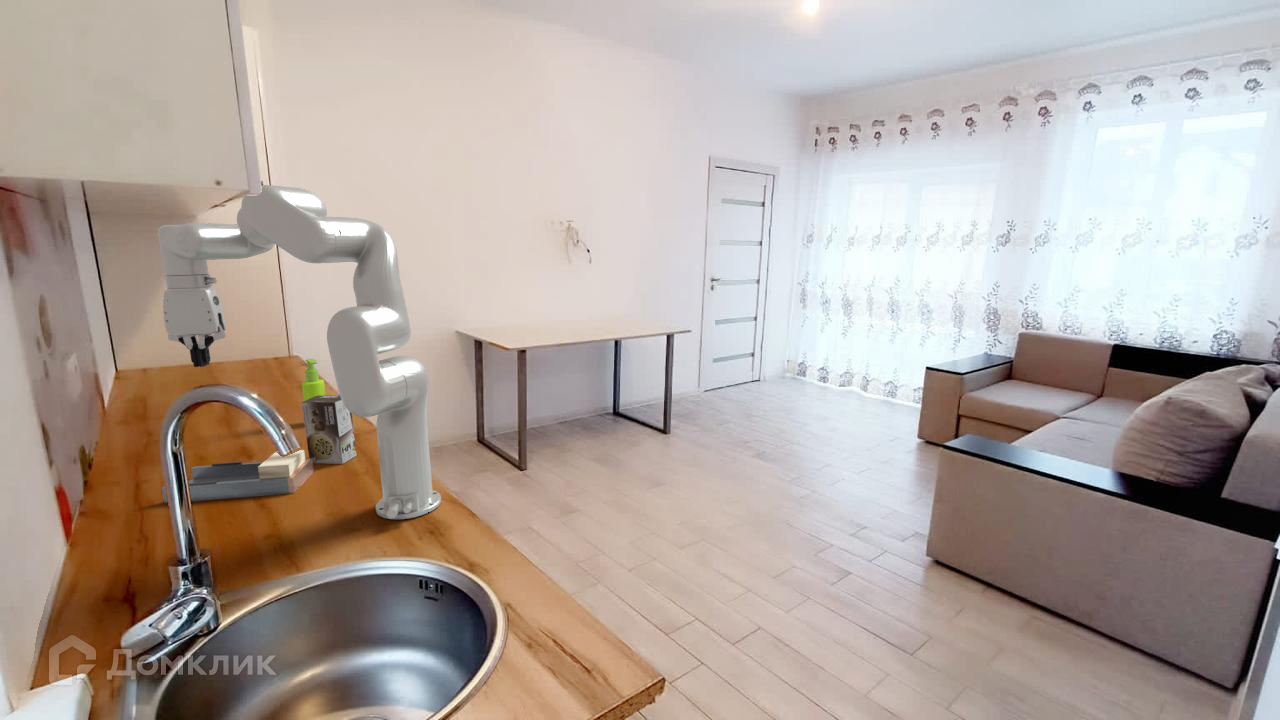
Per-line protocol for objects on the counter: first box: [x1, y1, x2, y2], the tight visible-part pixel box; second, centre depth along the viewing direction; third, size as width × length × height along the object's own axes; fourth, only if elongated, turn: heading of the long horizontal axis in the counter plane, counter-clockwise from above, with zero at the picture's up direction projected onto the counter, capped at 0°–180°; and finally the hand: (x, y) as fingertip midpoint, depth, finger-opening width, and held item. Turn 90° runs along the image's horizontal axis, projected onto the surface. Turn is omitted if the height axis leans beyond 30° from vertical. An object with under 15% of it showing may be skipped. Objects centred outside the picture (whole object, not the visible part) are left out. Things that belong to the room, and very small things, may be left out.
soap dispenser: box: [301, 358, 327, 401], centre depth 171 cm, size 6×7×20 cm
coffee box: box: [300, 394, 357, 465], centre depth 142 cm, size 9×6×16 cm
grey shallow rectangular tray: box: [161, 457, 315, 504], centre depth 127 cm, size 12×25×4 cm, turn 102°
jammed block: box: [258, 449, 306, 479], centre depth 129 cm, size 9×6×5 cm, turn 12°
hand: (201, 365), depth 127 cm, fingers closed
